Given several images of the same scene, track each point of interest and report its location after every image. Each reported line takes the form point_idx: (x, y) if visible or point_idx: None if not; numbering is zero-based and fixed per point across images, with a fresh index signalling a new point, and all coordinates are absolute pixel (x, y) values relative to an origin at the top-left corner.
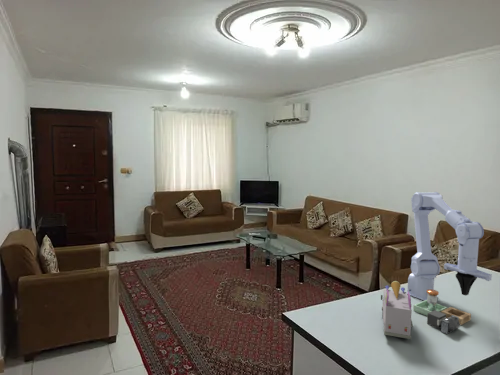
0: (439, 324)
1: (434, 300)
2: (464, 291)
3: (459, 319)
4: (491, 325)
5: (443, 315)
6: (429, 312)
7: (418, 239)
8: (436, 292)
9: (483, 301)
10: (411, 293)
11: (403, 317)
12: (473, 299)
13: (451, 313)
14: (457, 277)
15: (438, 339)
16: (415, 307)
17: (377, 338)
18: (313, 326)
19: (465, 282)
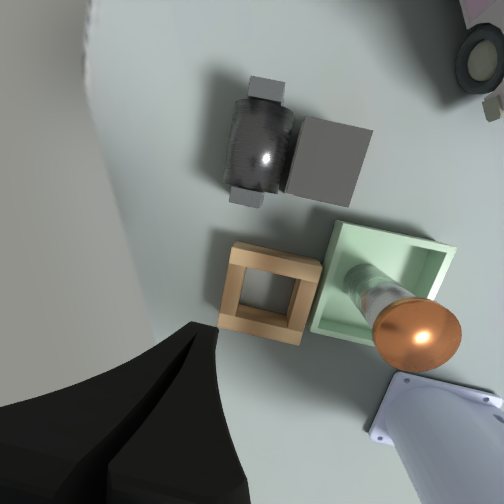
0: (299, 132)
1: (374, 293)
2: (186, 335)
3: (241, 247)
4: (159, 316)
5: (294, 168)
6: (366, 149)
7: None
8: (390, 334)
9: None
10: (480, 405)
11: None
12: (258, 487)
13: (288, 311)
14: (214, 463)
15: (272, 8)
16: (439, 243)
17: None
18: None
19: (119, 396)
